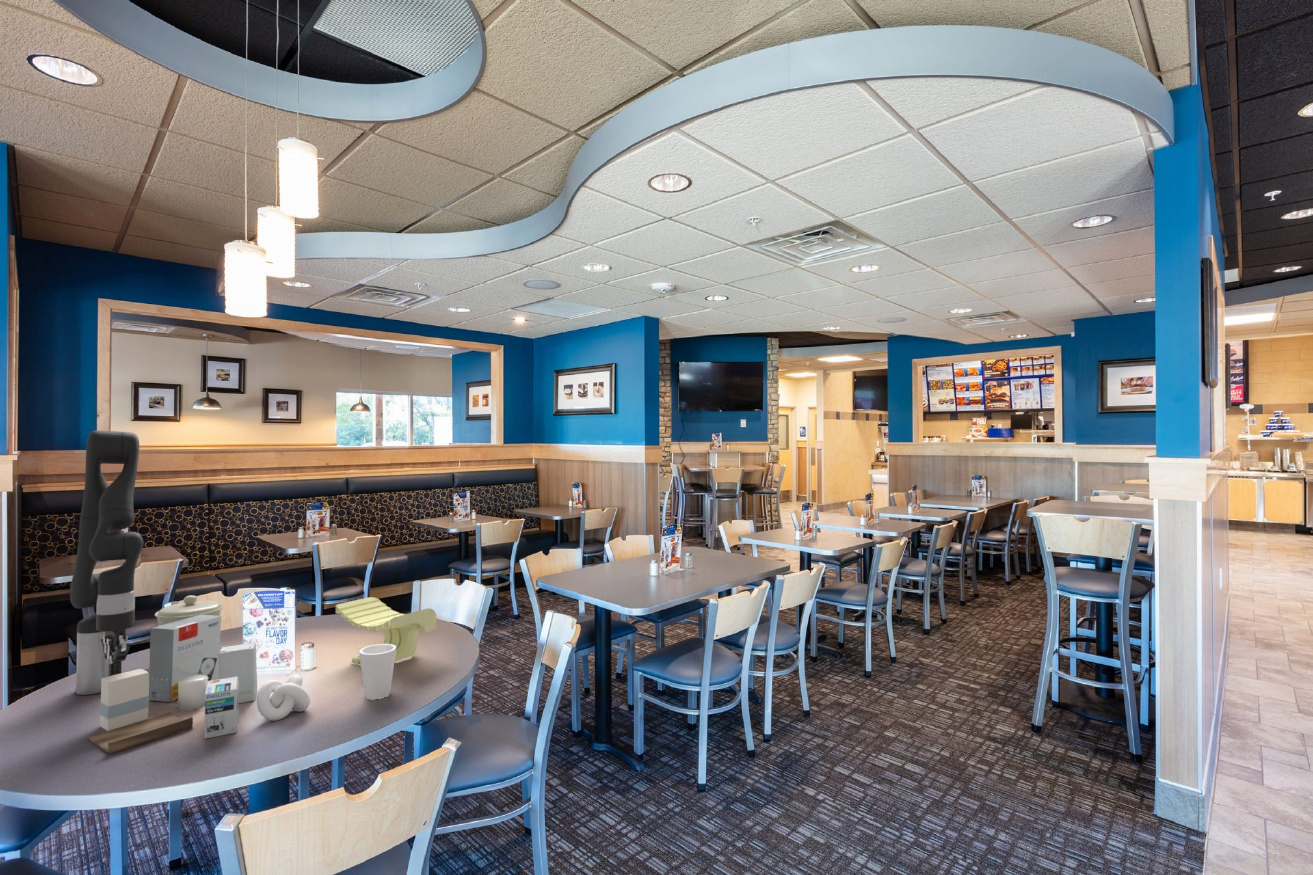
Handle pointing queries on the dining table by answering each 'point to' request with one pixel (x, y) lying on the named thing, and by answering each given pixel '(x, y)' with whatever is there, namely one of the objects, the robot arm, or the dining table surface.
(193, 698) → the white cylinder
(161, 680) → the hard drive box
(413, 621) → the slatted curved stool
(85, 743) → the dining table surface
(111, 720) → the cream carton
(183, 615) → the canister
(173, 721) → the walnut display plinth
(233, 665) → the skincare box
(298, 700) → the white knot sculpture
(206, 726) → the light bulb box
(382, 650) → the foam cup
